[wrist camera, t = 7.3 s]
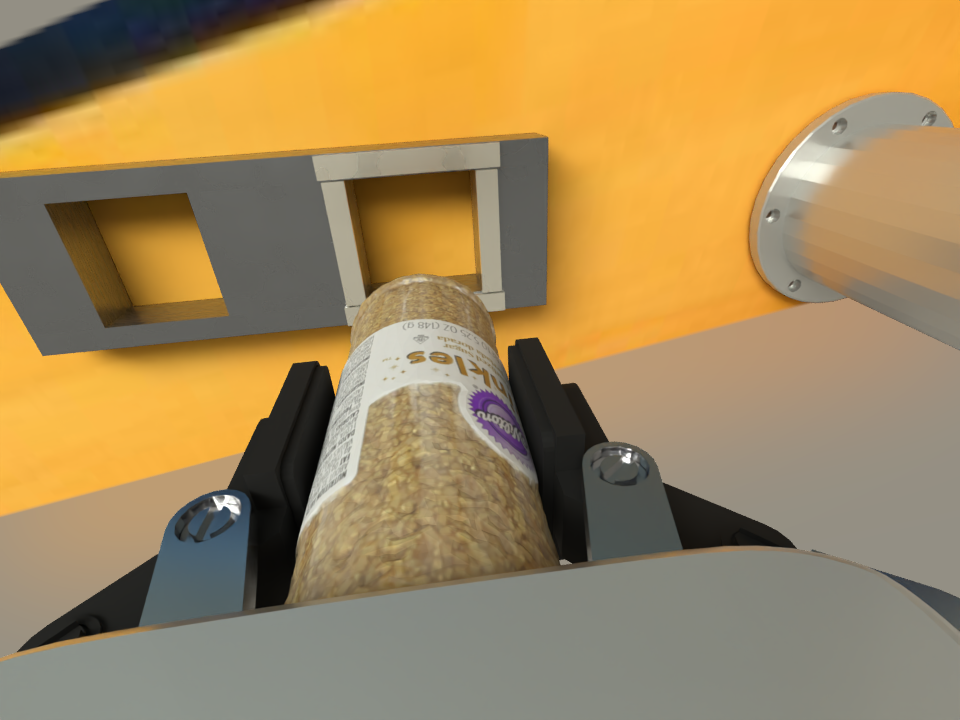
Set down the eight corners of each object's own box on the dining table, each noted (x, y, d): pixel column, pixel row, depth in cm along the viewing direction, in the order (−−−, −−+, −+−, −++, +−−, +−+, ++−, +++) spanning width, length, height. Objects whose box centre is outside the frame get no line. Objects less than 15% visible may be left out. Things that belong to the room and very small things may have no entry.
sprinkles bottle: (519, 310, 15) (851, 1005, 4) (448, 415, 17) (522, 1120, 5) (389, 240, 14) (248, 1059, 2) (325, 362, 15) (46, 1202, 4)
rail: (534, 132, 26) (549, 137, 24) (535, 286, 31) (547, 306, 28) (-8, 172, 24) (-65, 183, 21) (76, 331, 29) (39, 358, 26)
